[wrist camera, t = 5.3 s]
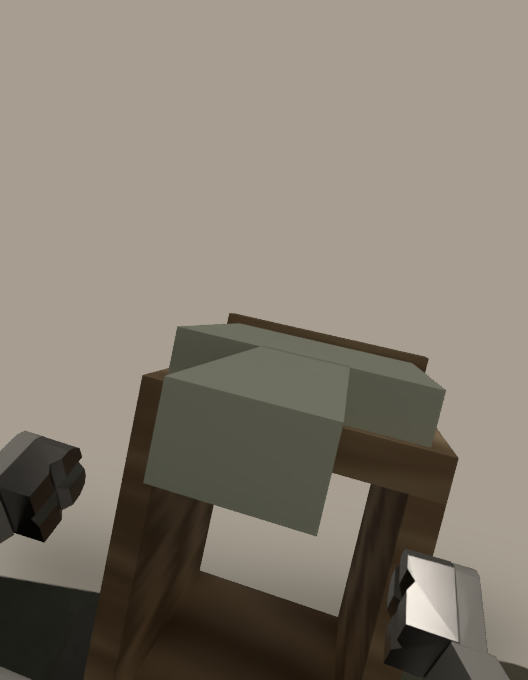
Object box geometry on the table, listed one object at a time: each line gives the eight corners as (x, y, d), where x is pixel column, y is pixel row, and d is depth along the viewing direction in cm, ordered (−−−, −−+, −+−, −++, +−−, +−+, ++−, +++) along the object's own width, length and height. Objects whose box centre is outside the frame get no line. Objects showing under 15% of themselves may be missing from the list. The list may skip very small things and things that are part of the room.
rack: (315, 1001, 21) (477, 386, 18) (46, 869, 23) (154, 311, 21) (331, 730, 35) (425, 356, 32) (160, 665, 37) (234, 313, 35)
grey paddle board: (517, 598, 9) (552, 476, 9) (-8, 436, 11) (8, 335, 11) (403, 399, 31) (412, 363, 30) (232, 357, 33) (239, 323, 32)
